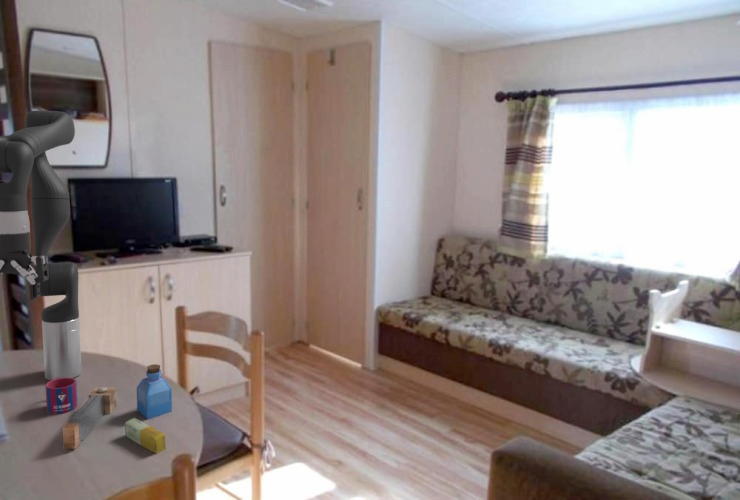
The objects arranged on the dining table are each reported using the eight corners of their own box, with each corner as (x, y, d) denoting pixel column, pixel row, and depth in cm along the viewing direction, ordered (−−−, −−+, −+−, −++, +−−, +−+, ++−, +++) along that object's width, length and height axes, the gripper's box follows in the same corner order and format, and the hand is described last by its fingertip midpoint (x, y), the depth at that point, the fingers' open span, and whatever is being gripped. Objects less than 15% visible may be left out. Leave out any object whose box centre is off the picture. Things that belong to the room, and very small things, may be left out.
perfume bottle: (171, 411, 134) (171, 367, 132) (147, 419, 129) (146, 373, 127) (160, 403, 138) (159, 360, 136) (137, 410, 134) (136, 366, 132)
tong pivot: (96, 405, 135) (95, 385, 134) (116, 405, 135) (115, 385, 134) (89, 413, 130) (88, 392, 130) (110, 413, 131) (109, 392, 130)
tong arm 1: (93, 413, 130) (92, 394, 129) (98, 413, 130) (97, 394, 129) (63, 448, 114) (62, 427, 113) (69, 448, 114) (68, 427, 114)
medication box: (124, 437, 121) (123, 421, 121) (135, 432, 124) (134, 416, 123) (156, 455, 115) (155, 438, 114) (166, 449, 117) (166, 433, 116)
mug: (46, 416, 128) (45, 390, 127) (47, 399, 137) (45, 375, 135) (77, 411, 132) (76, 385, 131) (76, 395, 140) (75, 371, 139)
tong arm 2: (99, 413, 130) (98, 394, 129) (104, 413, 130) (103, 394, 129) (69, 448, 114) (68, 427, 114) (75, 448, 114) (74, 427, 114)
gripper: (51, 229, 123) (55, 295, 126) (-14, 226, 122) (-9, 294, 124) (35, 233, 116) (39, 303, 119) (-35, 231, 114) (-29, 302, 117)
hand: (14, 298), depth 122 cm, fingers open, 8 cm apart
